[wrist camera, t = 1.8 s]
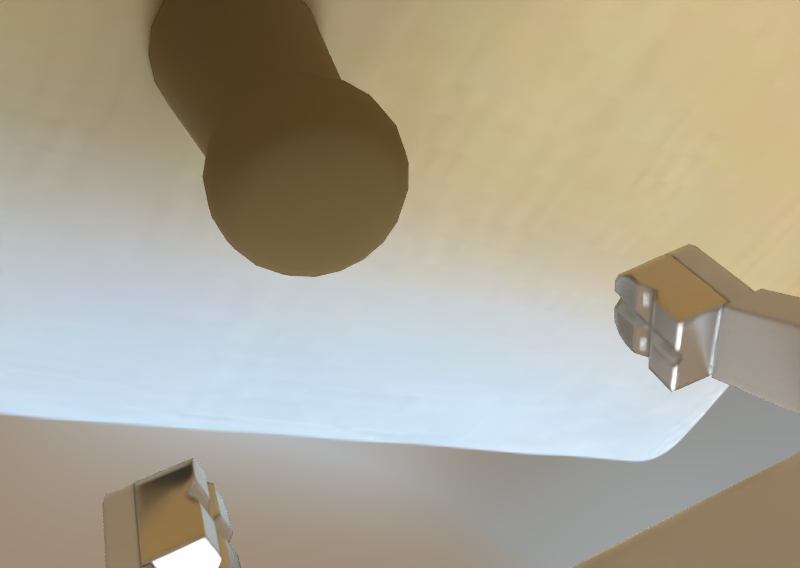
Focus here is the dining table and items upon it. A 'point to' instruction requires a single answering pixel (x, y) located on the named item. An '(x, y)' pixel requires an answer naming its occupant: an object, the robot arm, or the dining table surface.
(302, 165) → the cork
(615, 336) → the dining table surface
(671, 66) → the dining table surface
